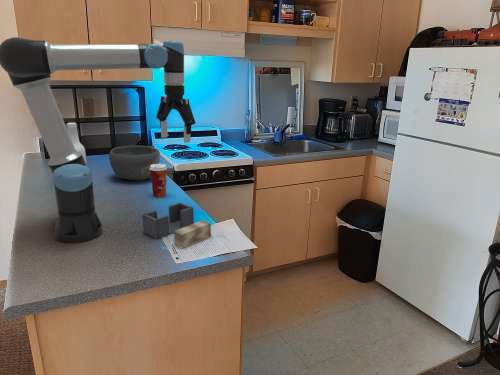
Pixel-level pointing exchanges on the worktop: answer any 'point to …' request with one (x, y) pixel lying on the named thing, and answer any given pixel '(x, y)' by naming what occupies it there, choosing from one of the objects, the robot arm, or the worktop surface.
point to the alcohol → (76, 139)
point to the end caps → (167, 220)
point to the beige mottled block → (192, 233)
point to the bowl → (133, 161)
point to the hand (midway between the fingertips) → (175, 139)
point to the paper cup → (158, 179)
